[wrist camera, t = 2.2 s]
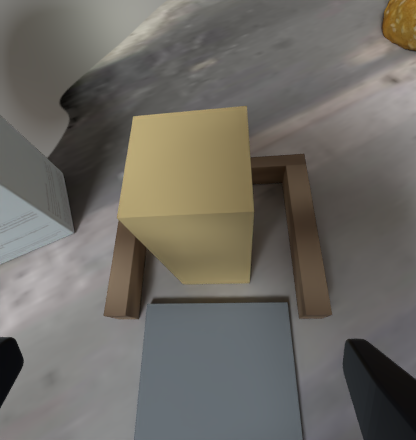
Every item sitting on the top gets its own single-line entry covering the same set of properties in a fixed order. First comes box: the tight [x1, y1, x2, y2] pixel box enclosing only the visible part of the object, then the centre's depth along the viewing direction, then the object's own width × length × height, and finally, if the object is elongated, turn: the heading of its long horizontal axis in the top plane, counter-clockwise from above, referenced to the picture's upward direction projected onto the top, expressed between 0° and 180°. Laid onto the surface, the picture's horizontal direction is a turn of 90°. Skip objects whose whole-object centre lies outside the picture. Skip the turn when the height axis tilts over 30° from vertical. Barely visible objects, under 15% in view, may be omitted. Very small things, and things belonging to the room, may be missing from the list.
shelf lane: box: [104, 154, 332, 319], centre depth 21 cm, size 12×14×2 cm
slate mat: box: [134, 302, 303, 440], centre depth 18 cm, size 10×10×1 cm
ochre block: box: [117, 106, 254, 284], centre depth 16 cm, size 5×5×12 cm
